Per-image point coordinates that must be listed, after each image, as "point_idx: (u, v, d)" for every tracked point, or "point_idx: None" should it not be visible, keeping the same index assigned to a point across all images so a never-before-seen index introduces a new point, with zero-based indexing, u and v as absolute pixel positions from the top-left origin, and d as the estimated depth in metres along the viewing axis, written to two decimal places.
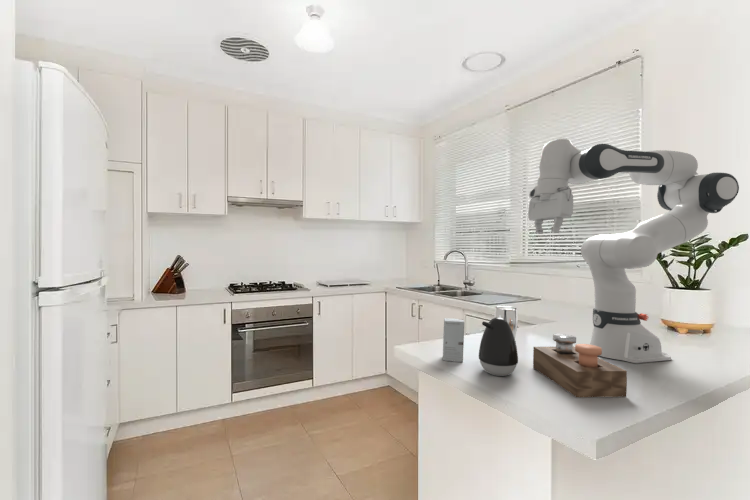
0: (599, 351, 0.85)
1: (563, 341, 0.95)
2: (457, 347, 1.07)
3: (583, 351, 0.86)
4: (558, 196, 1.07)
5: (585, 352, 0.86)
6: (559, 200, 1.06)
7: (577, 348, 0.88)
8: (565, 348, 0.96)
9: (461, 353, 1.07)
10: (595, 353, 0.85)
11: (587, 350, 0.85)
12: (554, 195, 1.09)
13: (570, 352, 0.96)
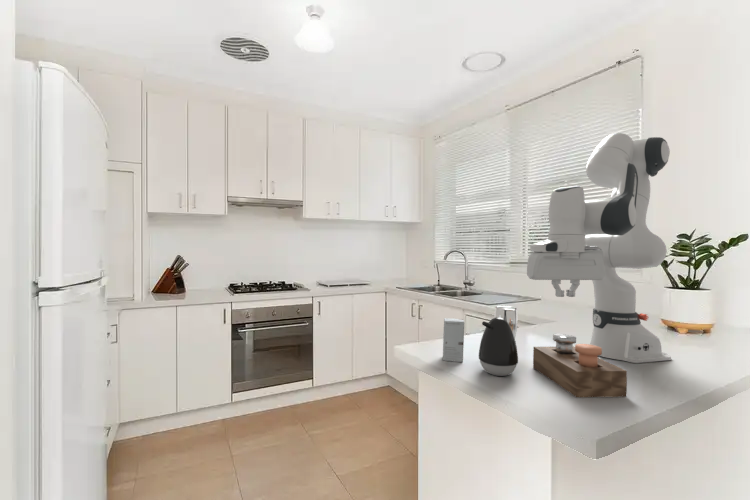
0: (599, 351, 0.85)
1: (563, 341, 0.95)
2: (457, 347, 1.07)
3: (583, 351, 0.86)
4: (597, 257, 0.96)
5: (585, 352, 0.86)
6: (599, 262, 0.96)
7: (577, 348, 0.88)
8: (565, 348, 0.96)
9: (461, 353, 1.07)
10: (595, 353, 0.85)
11: (587, 350, 0.85)
12: (588, 255, 0.96)
13: (570, 352, 0.96)
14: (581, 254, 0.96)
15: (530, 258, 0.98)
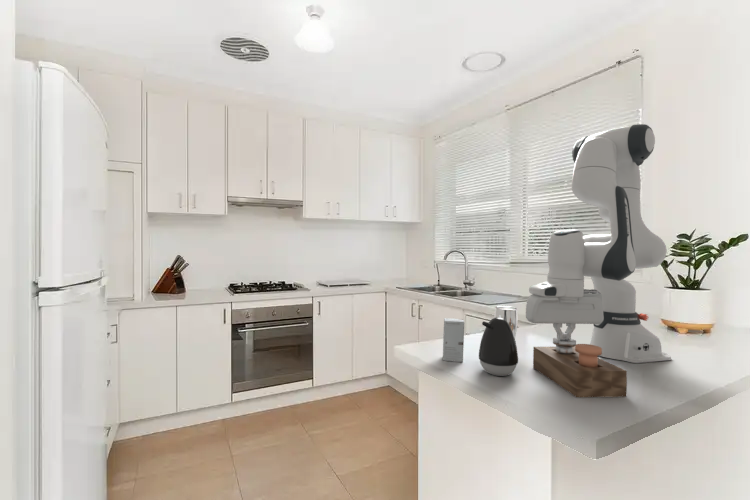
0: (599, 351, 0.85)
1: (563, 344, 0.95)
2: (457, 347, 1.07)
3: (583, 351, 0.86)
4: (596, 301, 0.96)
5: (585, 352, 0.86)
6: (597, 306, 0.96)
7: (577, 348, 0.88)
8: (565, 351, 0.96)
9: (461, 353, 1.07)
10: (595, 353, 0.85)
11: (587, 350, 0.85)
12: (587, 299, 0.96)
13: None
14: (580, 298, 0.96)
15: (529, 301, 0.98)
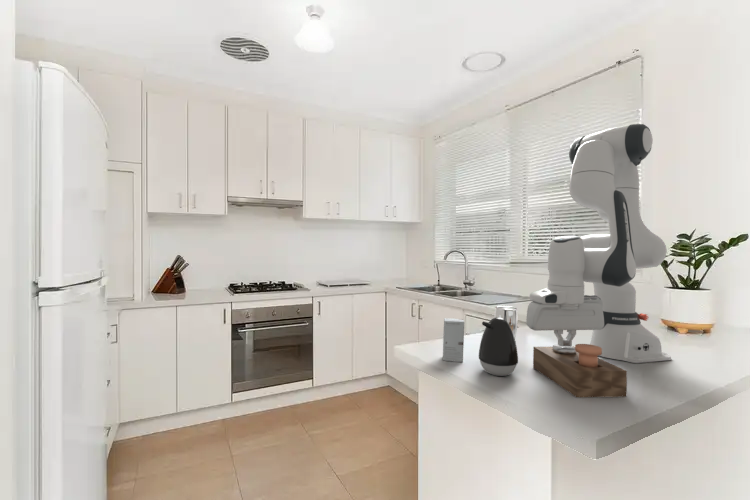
0: (599, 351, 0.85)
1: (563, 352, 0.95)
2: (457, 347, 1.07)
3: (583, 351, 0.86)
4: (596, 307, 0.96)
5: (585, 352, 0.86)
6: (598, 312, 0.96)
7: (577, 348, 0.88)
8: None
9: (461, 353, 1.07)
10: (595, 353, 0.85)
11: (587, 350, 0.85)
12: (587, 305, 0.96)
13: None
14: (580, 304, 0.96)
15: (529, 308, 0.98)
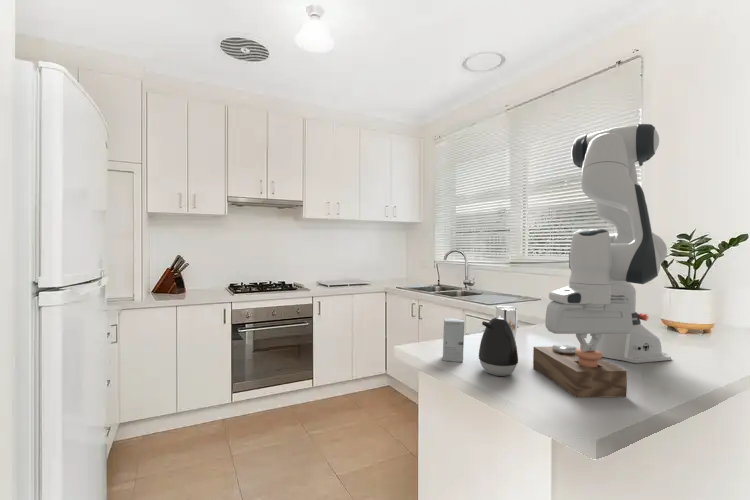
0: (599, 356, 0.85)
1: (563, 352, 0.95)
2: (457, 347, 1.07)
3: (583, 356, 0.86)
4: (624, 308, 0.86)
5: (585, 357, 0.86)
6: (626, 314, 0.86)
7: (577, 352, 0.88)
8: None
9: (461, 353, 1.07)
10: (595, 358, 0.85)
11: (587, 355, 0.85)
12: (614, 306, 0.86)
13: None
14: (606, 305, 0.86)
15: (549, 308, 0.88)
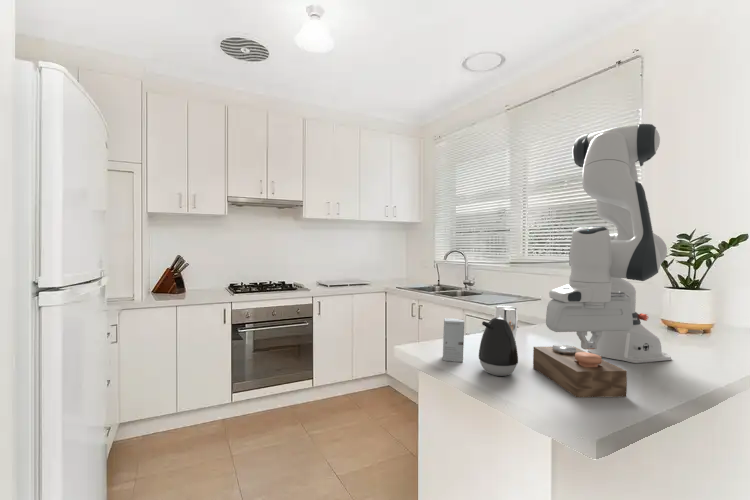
0: (599, 360, 0.85)
1: (563, 352, 0.95)
2: (457, 347, 1.07)
3: (583, 360, 0.86)
4: (624, 306, 0.86)
5: (585, 361, 0.86)
6: (626, 311, 0.86)
7: (577, 357, 0.88)
8: None
9: (461, 353, 1.07)
10: (595, 362, 0.85)
11: (587, 359, 0.85)
12: (615, 304, 0.86)
13: None
14: (607, 303, 0.86)
15: (550, 307, 0.88)
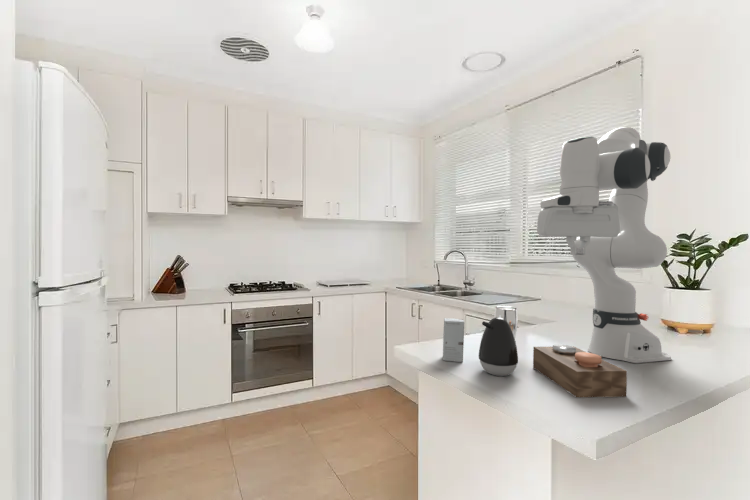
0: (599, 360, 0.85)
1: (563, 352, 0.95)
2: (457, 347, 1.07)
3: (583, 360, 0.86)
4: (612, 212, 0.91)
5: (585, 361, 0.86)
6: (613, 218, 0.91)
7: (577, 357, 0.88)
8: None
9: (461, 353, 1.07)
10: (595, 362, 0.85)
11: (587, 359, 0.85)
12: (602, 210, 0.90)
13: None
14: (595, 209, 0.90)
15: (541, 214, 0.92)
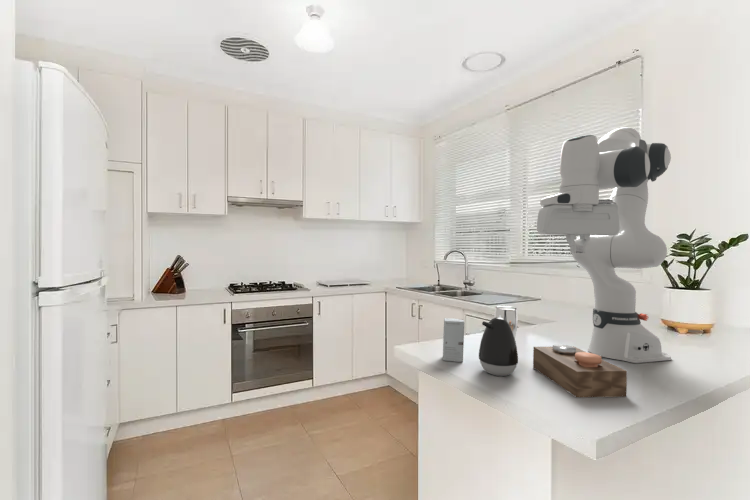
0: (599, 360, 0.85)
1: (563, 352, 0.95)
2: (457, 347, 1.07)
3: (583, 360, 0.86)
4: (611, 210, 0.91)
5: (585, 361, 0.86)
6: (613, 216, 0.91)
7: (577, 357, 0.88)
8: None
9: (461, 353, 1.07)
10: (595, 362, 0.85)
11: (587, 359, 0.85)
12: (602, 208, 0.91)
13: None
14: (595, 207, 0.91)
15: (540, 212, 0.92)
